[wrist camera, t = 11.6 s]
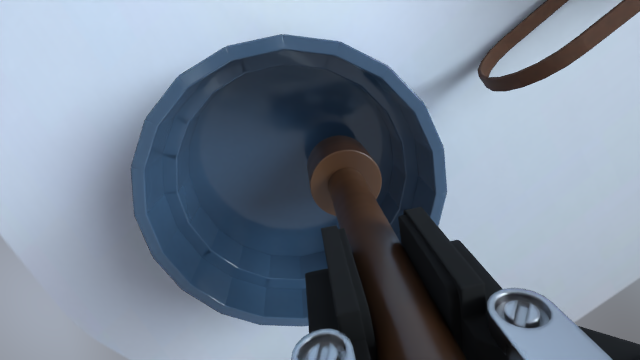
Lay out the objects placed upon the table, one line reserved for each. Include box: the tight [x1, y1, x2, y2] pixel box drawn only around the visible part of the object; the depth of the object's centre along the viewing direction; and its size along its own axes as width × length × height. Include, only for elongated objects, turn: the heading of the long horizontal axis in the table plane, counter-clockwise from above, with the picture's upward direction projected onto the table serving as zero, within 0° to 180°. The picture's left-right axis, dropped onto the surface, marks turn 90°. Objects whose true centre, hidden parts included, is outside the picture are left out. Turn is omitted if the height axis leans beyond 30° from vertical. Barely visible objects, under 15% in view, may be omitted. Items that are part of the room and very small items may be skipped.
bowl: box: [131, 34, 447, 326], centre depth 20 cm, size 15×15×6 cm
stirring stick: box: [307, 135, 467, 360], centre depth 13 cm, size 4×4×15 cm
